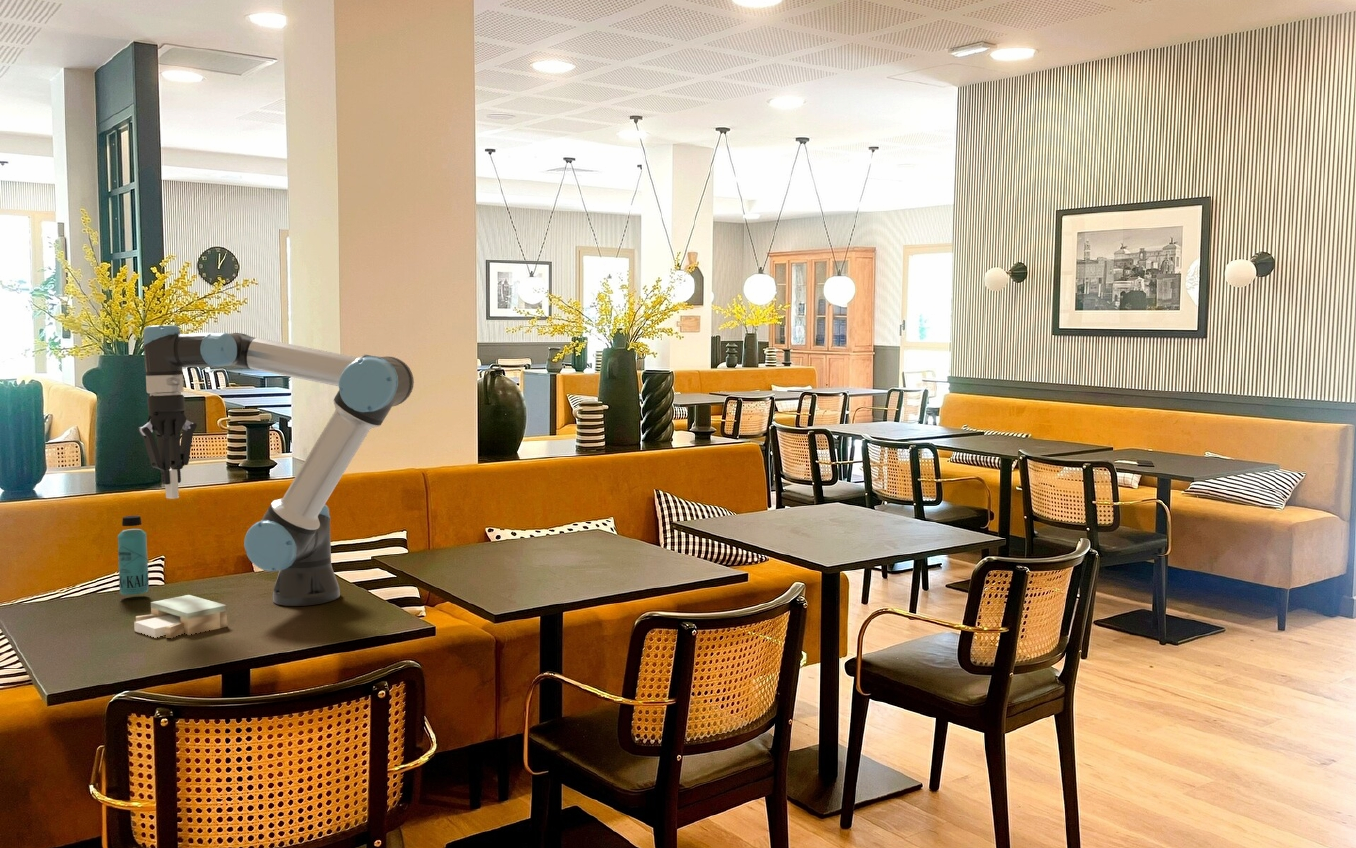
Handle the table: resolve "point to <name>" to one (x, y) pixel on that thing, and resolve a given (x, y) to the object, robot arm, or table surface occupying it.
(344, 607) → the table surface
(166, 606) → the miniature low table
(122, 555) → the beverage bottle
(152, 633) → the white eraser slab
